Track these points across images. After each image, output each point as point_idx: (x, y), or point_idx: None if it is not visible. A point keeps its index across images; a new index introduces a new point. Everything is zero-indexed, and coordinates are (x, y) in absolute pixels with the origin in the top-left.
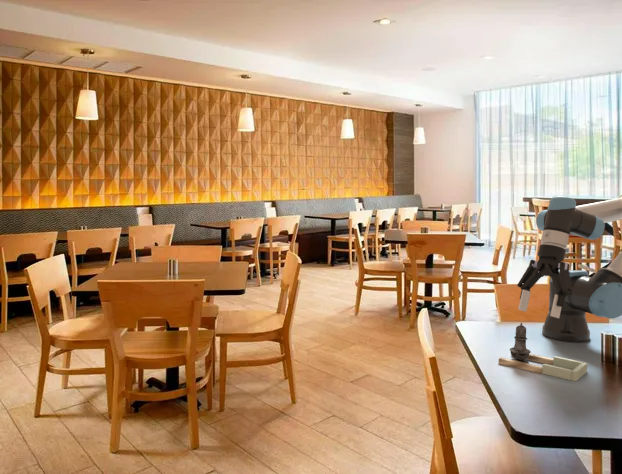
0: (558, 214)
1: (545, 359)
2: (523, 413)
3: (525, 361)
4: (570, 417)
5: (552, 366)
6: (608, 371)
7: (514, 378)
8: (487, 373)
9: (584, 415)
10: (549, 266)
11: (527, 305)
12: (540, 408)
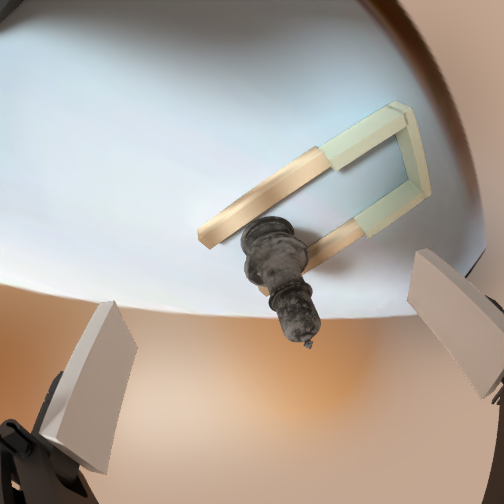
0: None
1: (306, 179)
2: None
3: (281, 230)
4: (455, 264)
5: (387, 222)
6: (408, 41)
7: (350, 283)
8: None
9: (463, 248)
10: None
11: (99, 335)
12: None
